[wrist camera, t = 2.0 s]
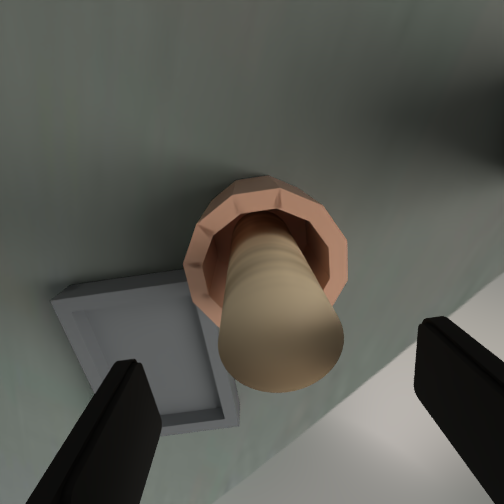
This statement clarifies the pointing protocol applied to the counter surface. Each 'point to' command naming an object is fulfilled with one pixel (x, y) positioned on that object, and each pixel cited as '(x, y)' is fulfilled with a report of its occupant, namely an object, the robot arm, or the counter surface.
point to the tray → (153, 345)
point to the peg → (275, 311)
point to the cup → (296, 219)
